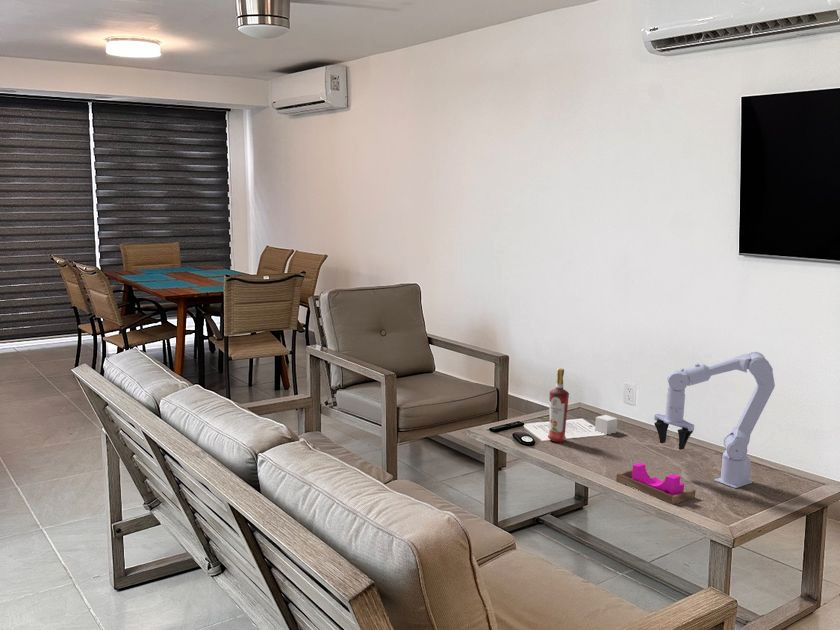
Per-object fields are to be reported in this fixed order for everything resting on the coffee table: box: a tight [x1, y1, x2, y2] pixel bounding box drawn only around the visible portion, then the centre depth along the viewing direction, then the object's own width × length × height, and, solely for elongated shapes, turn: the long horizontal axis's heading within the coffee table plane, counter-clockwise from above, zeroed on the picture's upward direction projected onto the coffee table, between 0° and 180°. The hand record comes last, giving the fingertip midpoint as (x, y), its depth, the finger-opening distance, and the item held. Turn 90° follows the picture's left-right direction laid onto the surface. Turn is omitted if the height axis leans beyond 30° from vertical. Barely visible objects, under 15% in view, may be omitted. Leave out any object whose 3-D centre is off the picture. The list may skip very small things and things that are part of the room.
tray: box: [615, 469, 697, 505], centre depth 247 cm, size 11×23×2 cm, turn 34°
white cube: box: [594, 414, 618, 436], centre depth 306 cm, size 6×6×6 cm
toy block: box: [631, 462, 685, 496], centre depth 245 cm, size 15×6×8 cm, turn 39°
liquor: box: [547, 368, 570, 443], centre depth 292 cm, size 7×7×28 cm
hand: (672, 445), depth 258 cm, fingers open, 7 cm apart
